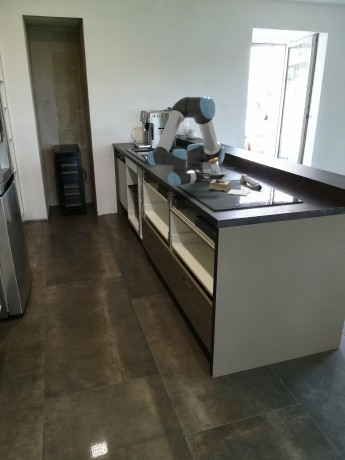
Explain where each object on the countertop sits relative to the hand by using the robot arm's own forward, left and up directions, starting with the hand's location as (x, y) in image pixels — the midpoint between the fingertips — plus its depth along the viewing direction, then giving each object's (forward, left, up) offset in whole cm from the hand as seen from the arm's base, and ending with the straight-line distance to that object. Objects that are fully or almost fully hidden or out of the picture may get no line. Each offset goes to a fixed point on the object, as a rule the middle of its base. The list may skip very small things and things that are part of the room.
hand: (218, 173), depth 209 cm
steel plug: (-2, +2, -9) cm, 9 cm away
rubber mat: (+5, +14, -10) cm, 18 cm away
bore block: (-2, +1, -10) cm, 10 cm away
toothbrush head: (-17, +17, -10) cm, 26 cm away
